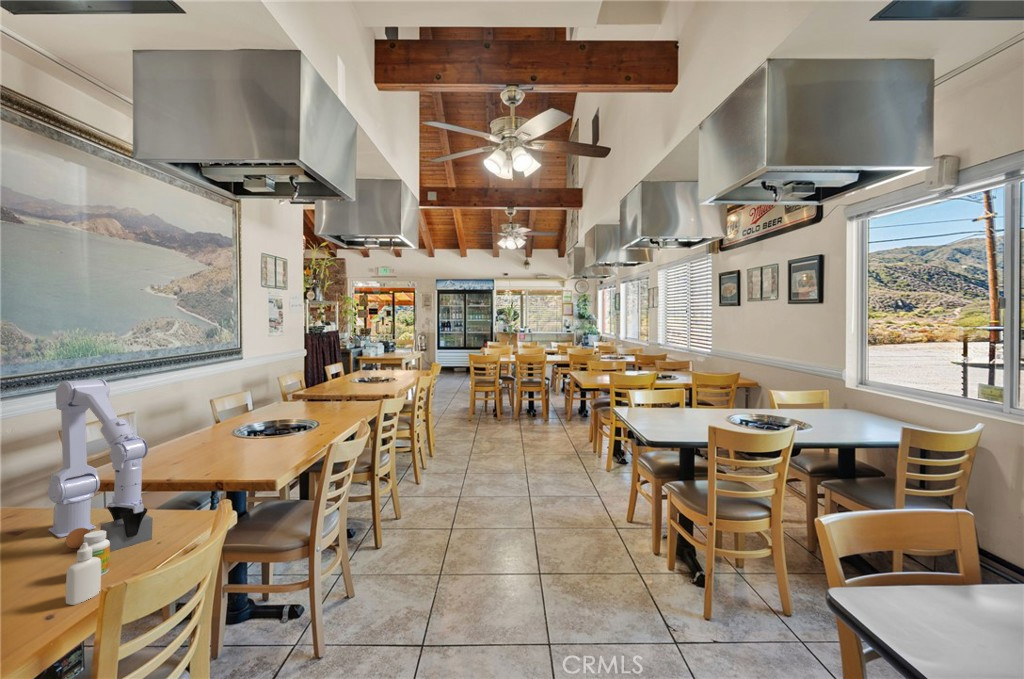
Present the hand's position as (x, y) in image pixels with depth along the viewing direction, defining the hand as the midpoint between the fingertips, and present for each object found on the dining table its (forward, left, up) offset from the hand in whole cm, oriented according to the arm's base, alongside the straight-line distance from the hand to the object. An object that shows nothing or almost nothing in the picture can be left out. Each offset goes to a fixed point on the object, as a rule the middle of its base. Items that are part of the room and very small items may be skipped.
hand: (126, 533), depth 125 cm
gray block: (0, 0, -3) cm, 3 cm away
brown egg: (-7, -8, 0) cm, 11 cm away
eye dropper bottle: (+25, -16, -3) cm, 30 cm away
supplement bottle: (+14, -11, -3) cm, 18 cm away
